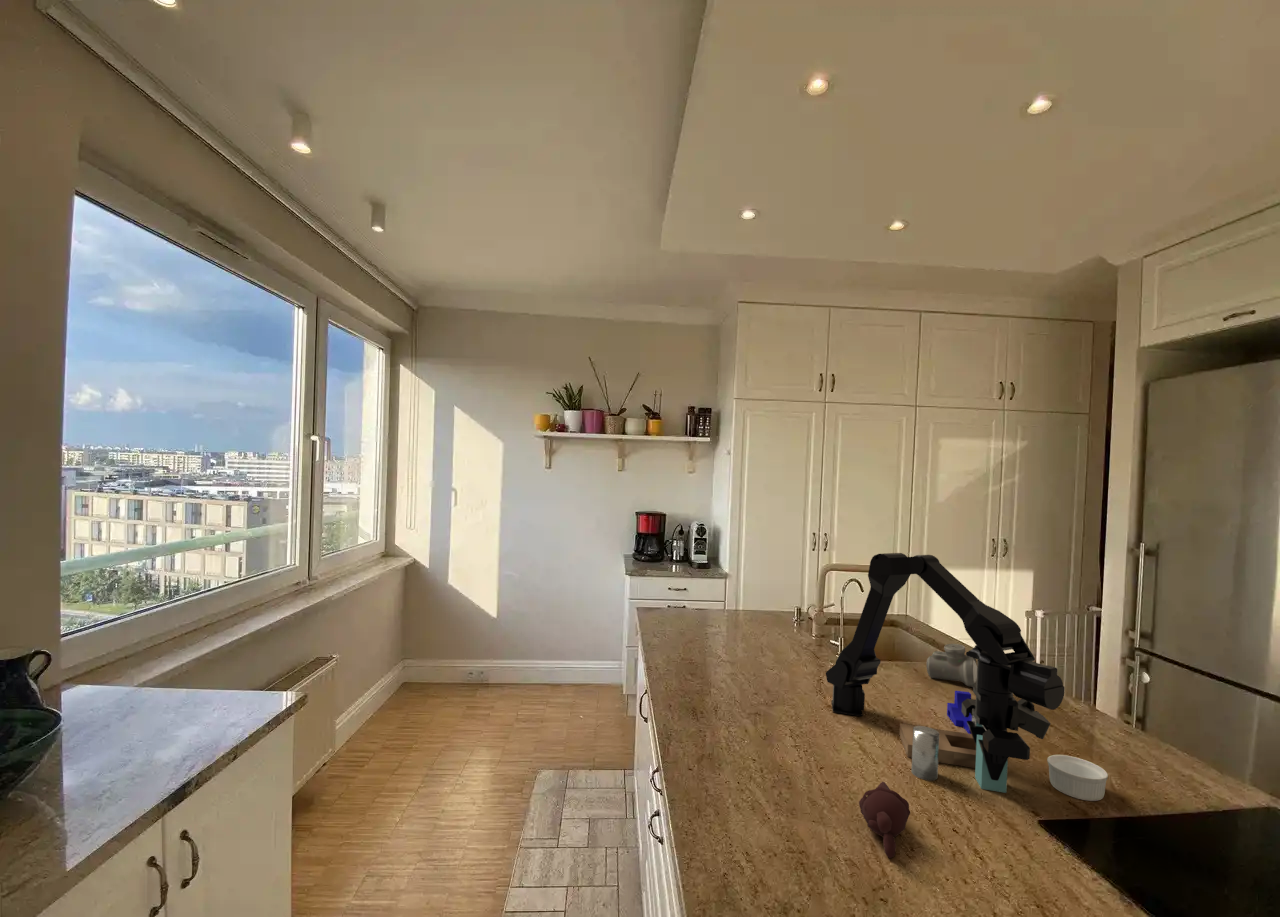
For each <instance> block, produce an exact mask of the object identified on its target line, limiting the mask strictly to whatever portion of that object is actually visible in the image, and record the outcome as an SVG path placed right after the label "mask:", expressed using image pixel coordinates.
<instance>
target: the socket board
mask: <svg viewBox="0 0 1280 917" xmlns="http://www.w3.org/2000/svg"><path fill="white" fill-rule="evenodd" d="M915 726H916V725H913V724H905V723H899V734H898V735H900V736H899V738H900V741H901V743H902V746H903V749H904V751H905V755H906V756H907V758H911V759H912V746H913V728H914V727H915ZM931 728H932V729H934V730H936V731H938V732H939V755H938V763H941V764H949V765H953V766H959V767H968V768H972V769H975V767H976V745H975V742H974V739H973V737H972V734H968V732H961V731H953V730H949V729H948V730H947V729H940V728H939V729H938V728H933V727H931Z"/></svg>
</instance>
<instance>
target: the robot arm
mask: <svg viewBox="0 0 1280 917" xmlns="http://www.w3.org/2000/svg"><path fill="white" fill-rule="evenodd" d="M911 575H917V576H918V577H919V578H920V579H921V580H923V582H924V583H926V584H927V586H929V588H930V589H931V590H932V591H933V592H934V593H935V594H936V595H937V596H938V597H939V598H941V599H942V601H943V602H945V603H946V605H948V607H950V608H951V610H953V612H954V613H955V614H957V616H958V617H959V618H960V619H961V621H962V623H963V627H964V629H965V632H966V633H967V635H968V636H969V637H970V639H971V640H972V641H973V642H974V644H975V646H974V647H973V648H972V649H970V650H968V651H965V655H967V656H969V657H972V658H975V659H976V664H977V685H976V687H972V693H973V694H974V695H975V699H973V698H971V699H966V700H964V701H963V702H962V710H961V712H962V713H963V715H964V716H965V717H969V713H970V714H971V715H972V721H967V724H968V726H969V729H970V732H971V734H972V737H973V739H974V742H975V745H976V743H977V735H983V740H979V739H978V741H979V744H980V747H981V750H982V753H983V756H984V759H985V762H986V765H987V768H988V771H989V774H990V777H991V779H992V780H996V781H998V780H999V777H1000V775H1001V773H1002V770H1003V768H1004V766H1005V763H1006V761H1007V759H1008V760H1009V758H1012V759H1019V760H1024V761H1025V760H1026V761H1028V760H1030V757H1031V756H1030V755H1031V754H1030V753H1031V748H1030V746H1029V745H1028V744H1027V742H1026V741H1025V739H1023V738H1022V736H1020V734H1019V733H1017V732H1019V728H1020V729H1022V730H1023V731H1026V732H1028V733H1030V734H1032V735H1035V737H1036V738H1038V739H1039V740H1044V739H1045V736H1046V734H1047V732H1048V730H1049V728H1050V726H1051V722H1050V721H1049V720H1048V719H1047V718H1046V716H1044V714H1041V713H1040V712H1039V711H1037V710H1035V708H1036V707H1035V705H1038V706H1041V707H1043V708H1046V709H1049V710H1050V711H1051V710H1052V711H1054V710H1056V709H1058V708H1059V707H1060V706H1061V704H1062V702H1063V700H1064V696H1065V688H1066V687H1065V686H1064V683H1063V680H1062V678H1061V676H1059V675H1058V668H1057V667H1055V666H1051V665H1046V664H1042V663H1039V662H1036V661H1035V660H1036V657H1035V656H1034V654H1033V653H1032V651H1031V650H1030V648H1029V646H1028V644H1027V642H1026V641H1025V639H1024V637H1023V636H1022V633H1021V632H1022V630H1021V627H1020V625H1018V624H1017V622H1015V621H1014V620H1013V619H1012V618H1010V617H1009V616H1007V615H1006V614H1004V613H1003V612H1002V611H1000V610H998V609H996V608H993V607H992V606H989V605H987V604H986V603H984V602H982V600H980V599H979V598H978V597H976V595H974V594H973V593H972V592H971V590H969V589H968V588H967V587H966V586H965V585H964V584H963V583H962V582H961V581H960V580H959V579H958V578H956V577H955V575H953V574H952V573H951V572H950V571H949V569H947V568H946V567H945V566H944V565H942V564H941V562H940V560H939V559H938V557H936V556H935V555H932V554H917V555H914V556H907V555H906V554H904V553H903V552H892V553H891V552H890V553H889V552H888V553H878V554H875V555H873V556H872V557H871V559H870V561H869V567H868V573H867V577H868V581H869V584H870V587H869V588H870V589H869V592H868V594H867V598H866V600H865V603H864V606H863V608H862V611H861V614H860V617H859V620H858V623H857V626H856V629H855V631H854V634H853V637H852V640H851V641H850V642H849V643H848V644H847V645H846V646H845V647H844V648H843V649H842V650H841V651H840V653H839V654H838V657H837V658H836V661H835V664H834V665H832V667H830V668H829V669H828V670H827V671H825V677H826V682H827V683H829V684H831V685H832V699H831V710H832V712H833V713H836V714H842V715H843V714H844V715H850V716H857V717H863V716H864V715H863V712H865V699H866V698H865V697H866V693H865V690H864V688H863V686H864V685H868V684H869V683H870V680H871V678H873V677H874V676H877V675H878V667H879V666H880V664H881V659H880V658H878V657H877V654H876V651H875V648H876V644H877V642H878V640H879V637H880V634H881V632H882V629H883V625H884V623H885V621H886V618H887V615H888V612H889V609H890V607H891V603H892V601H893V598H894V596H895V595H896V593H898V592H899V590H901V589H902V588H903V587H904V586H906V583H907V582H908V580H909V578H910V576H911ZM1010 650H1012V652H1006V653H1005V651H1010ZM1014 696H1015V697H1017V698H1019V700H1016V698H1015V697H1014ZM1034 704H1035V705H1034ZM1008 730H1010V731H1008ZM1012 731H1016V732H1012Z"/></svg>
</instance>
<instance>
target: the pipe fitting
mask: <svg viewBox="0 0 1280 917" xmlns="http://www.w3.org/2000/svg"><path fill="white" fill-rule="evenodd" d="M943 647H944V648H943V649H944V651H938V650H937V651H934V652H933V653H932V655H929V656H928V657H927V659H926V672H927V674H928V676H929V677H930V678H931V679H936V680H937V679H938V680H944V681H945V680H946V681H955V682H962V683H963V684H964V685H965V686H967V687H969V688H973V687H976V685H977V659H975V658H972V657H969V656H967V655H966V647H965V645H963V644H960V643H948V644H945V645H944V646H943Z"/></svg>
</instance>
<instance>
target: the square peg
mask: <svg viewBox="0 0 1280 917" xmlns="http://www.w3.org/2000/svg"><path fill="white" fill-rule="evenodd" d="M978 739H979V740H983V735H977V743H976V767H975V768H974V769H975V771H974V779H975V780H976V782H977V784H978V785H979V787H980V789H982V790H987V791H990V792H991V791H994V792H998V793H1004V794H1007V788H1008V787H1007V786H1008V765H1009V764H1008V763H1009V758H1008V759H1007V761H1006V763H1005V766H1004V768H1003V770H1002V773H1001V775H1000V777H999V780H998V781H996V780H992V779H991V777H990V774H989V771H988V768H987V765H986V762H985V759H984V756H983V753H982V750H981V747H980V744H979V741H978Z"/></svg>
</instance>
